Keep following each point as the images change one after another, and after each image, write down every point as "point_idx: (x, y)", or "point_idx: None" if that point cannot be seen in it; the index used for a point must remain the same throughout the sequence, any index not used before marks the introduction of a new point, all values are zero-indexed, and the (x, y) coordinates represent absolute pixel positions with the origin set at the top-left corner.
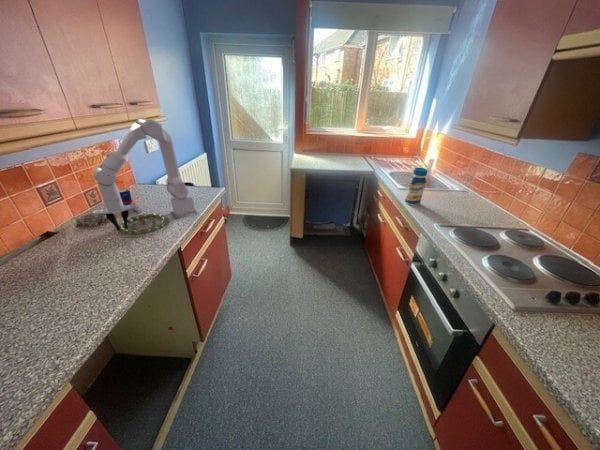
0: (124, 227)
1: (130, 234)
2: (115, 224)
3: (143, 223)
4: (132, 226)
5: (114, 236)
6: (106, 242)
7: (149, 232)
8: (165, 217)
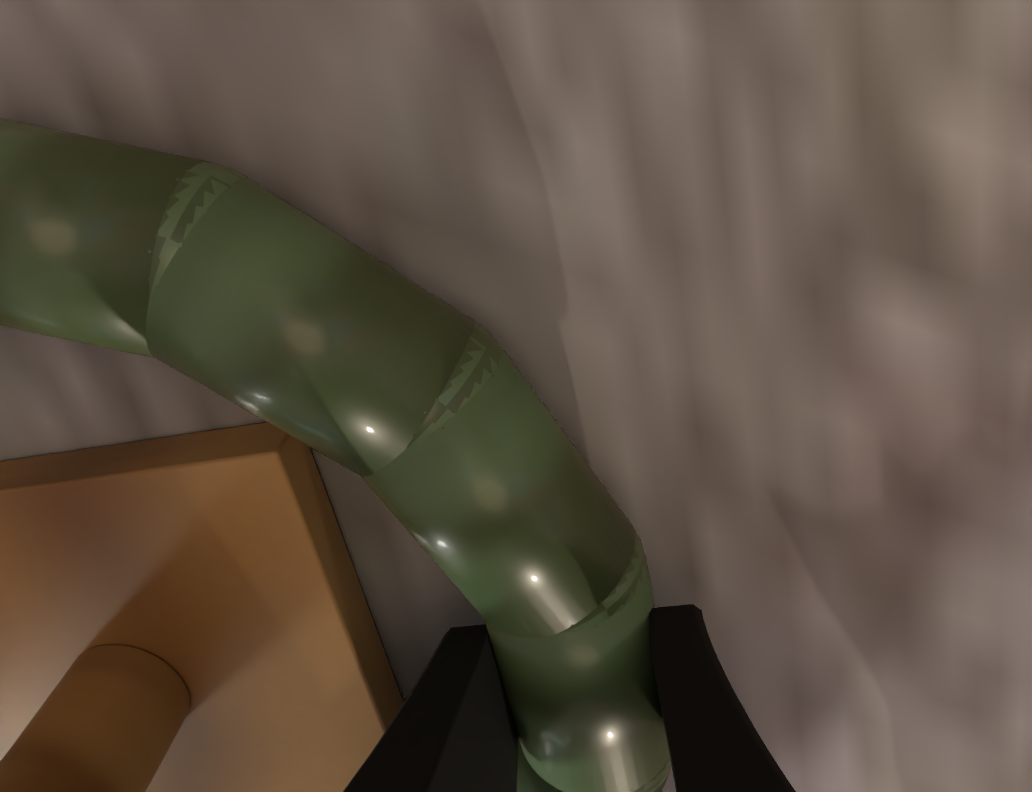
0: (506, 647)
1: (242, 197)
2: (716, 758)
3: (55, 700)
4: None
5: (778, 399)
6: (992, 71)
7: None
8: None
